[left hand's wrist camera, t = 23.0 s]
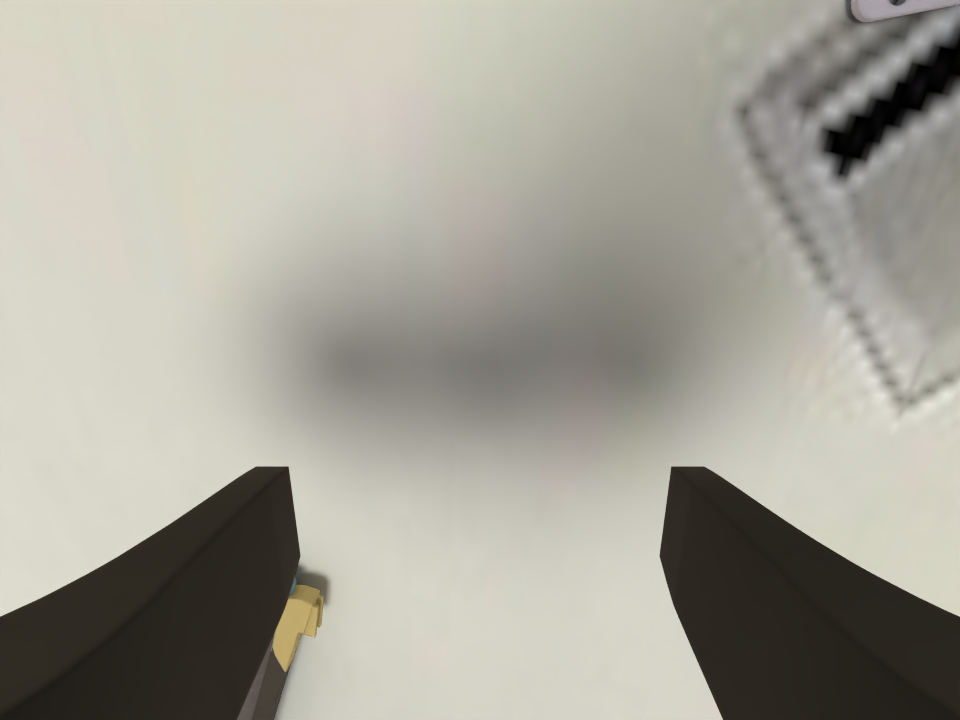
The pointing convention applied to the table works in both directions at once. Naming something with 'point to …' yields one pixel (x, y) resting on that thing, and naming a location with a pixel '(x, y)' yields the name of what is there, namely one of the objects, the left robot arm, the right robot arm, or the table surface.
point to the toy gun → (283, 652)
